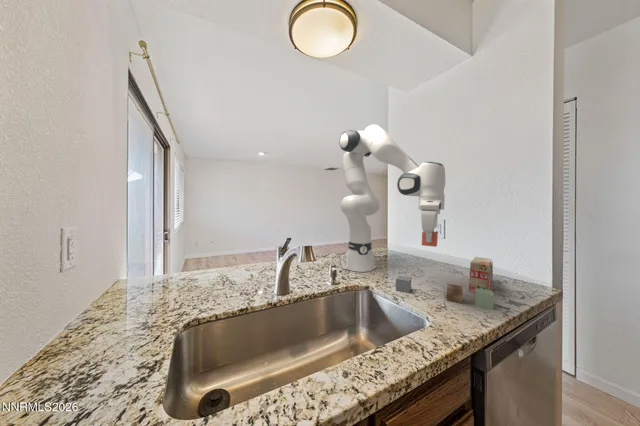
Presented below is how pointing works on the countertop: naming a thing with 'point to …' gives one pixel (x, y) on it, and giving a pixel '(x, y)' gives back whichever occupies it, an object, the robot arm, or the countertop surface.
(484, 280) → the cardboard box
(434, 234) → the red cube
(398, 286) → the charcoal cube
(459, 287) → the walnut cube
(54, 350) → the countertop surface
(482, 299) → the sage cube
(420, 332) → the countertop surface
